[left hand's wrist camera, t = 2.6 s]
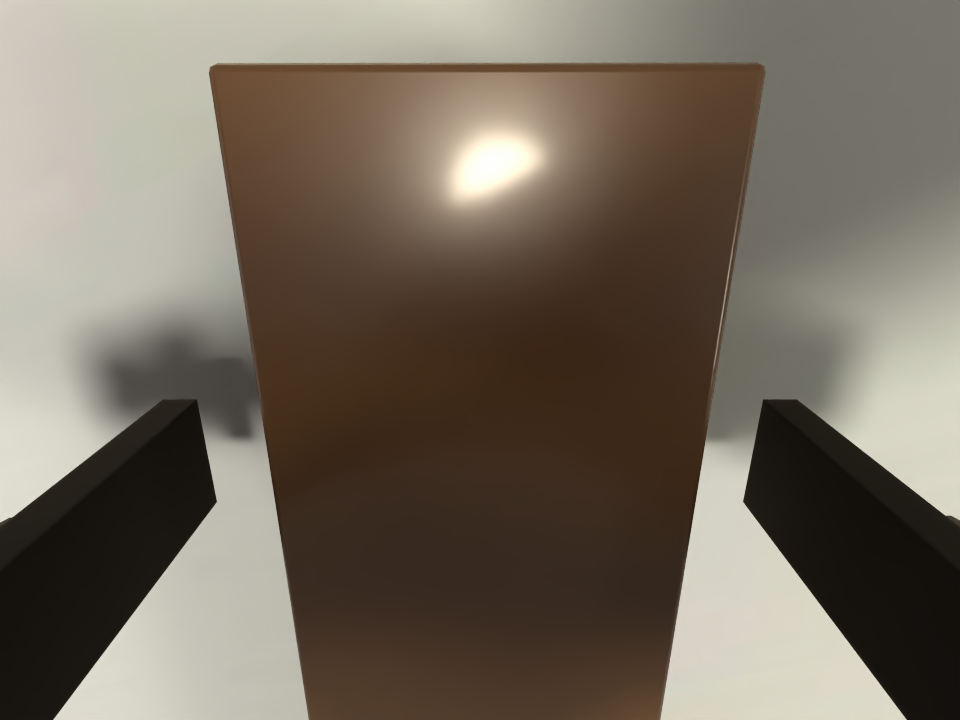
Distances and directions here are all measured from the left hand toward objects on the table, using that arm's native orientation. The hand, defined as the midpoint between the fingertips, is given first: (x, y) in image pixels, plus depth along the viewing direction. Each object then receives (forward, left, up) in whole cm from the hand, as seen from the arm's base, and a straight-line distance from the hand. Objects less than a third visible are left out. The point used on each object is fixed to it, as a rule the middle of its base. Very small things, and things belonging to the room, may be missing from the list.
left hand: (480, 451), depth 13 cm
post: (+27, +20, -3) cm, 33 cm away
